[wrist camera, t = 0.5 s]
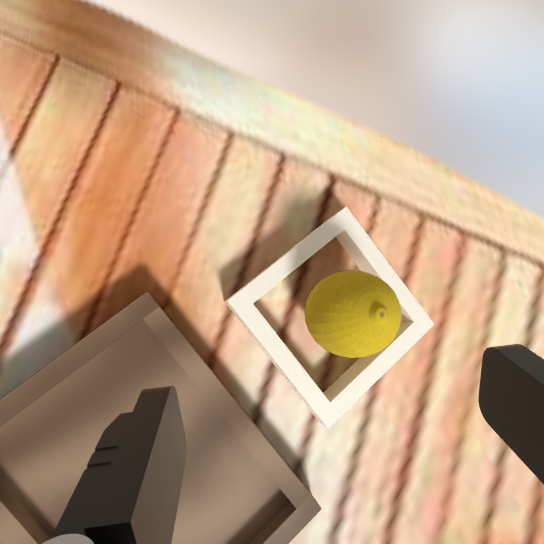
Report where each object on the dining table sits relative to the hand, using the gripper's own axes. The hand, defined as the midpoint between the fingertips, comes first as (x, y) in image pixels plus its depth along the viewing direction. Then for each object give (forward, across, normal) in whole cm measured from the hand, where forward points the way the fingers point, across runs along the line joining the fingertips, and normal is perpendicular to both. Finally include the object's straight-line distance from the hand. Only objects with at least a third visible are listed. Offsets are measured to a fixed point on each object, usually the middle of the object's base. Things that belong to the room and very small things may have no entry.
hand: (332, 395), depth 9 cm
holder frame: (+17, -3, +6) cm, 18 cm away
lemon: (+17, -3, +6) cm, 18 cm away
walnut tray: (+11, +10, +13) cm, 20 cm away
